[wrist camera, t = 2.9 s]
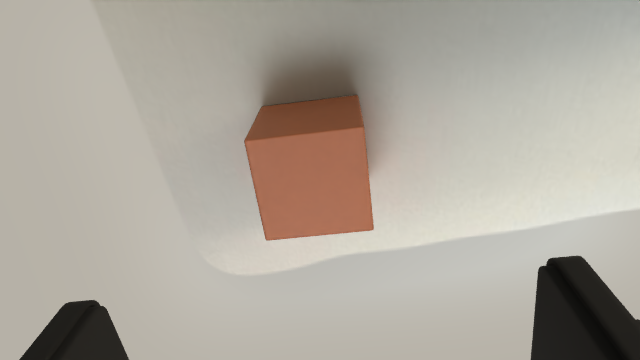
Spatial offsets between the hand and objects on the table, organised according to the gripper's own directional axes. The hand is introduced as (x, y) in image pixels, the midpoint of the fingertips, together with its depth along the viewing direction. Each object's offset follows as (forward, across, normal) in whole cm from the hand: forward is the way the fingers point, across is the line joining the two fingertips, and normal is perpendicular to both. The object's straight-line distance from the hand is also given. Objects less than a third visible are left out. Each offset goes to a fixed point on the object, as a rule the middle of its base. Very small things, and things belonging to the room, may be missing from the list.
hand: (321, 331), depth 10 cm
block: (+15, +1, +1) cm, 15 cm away
